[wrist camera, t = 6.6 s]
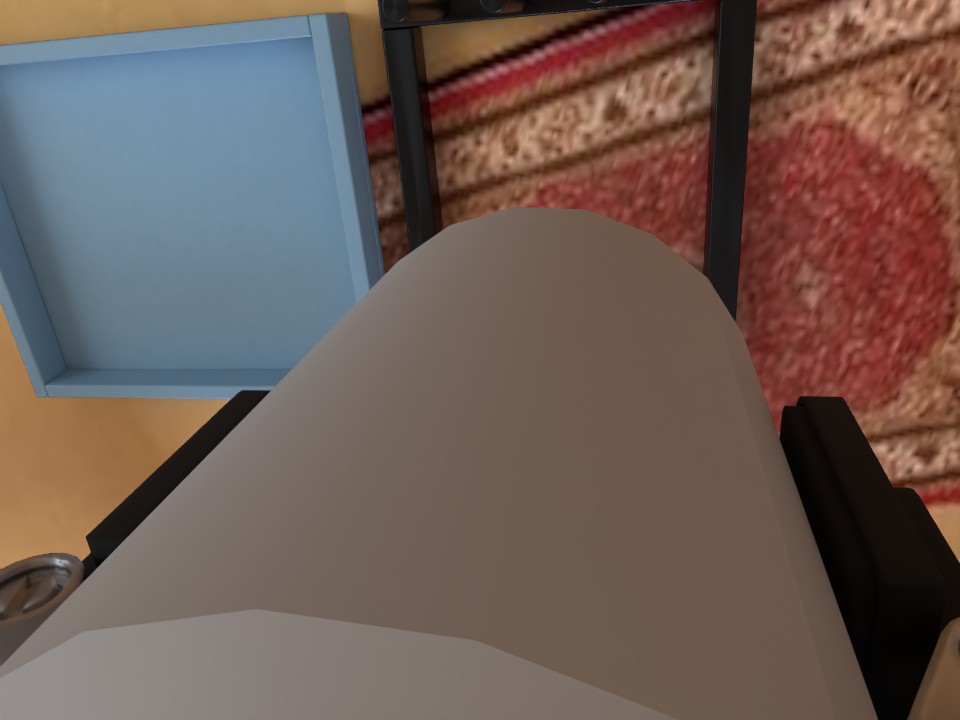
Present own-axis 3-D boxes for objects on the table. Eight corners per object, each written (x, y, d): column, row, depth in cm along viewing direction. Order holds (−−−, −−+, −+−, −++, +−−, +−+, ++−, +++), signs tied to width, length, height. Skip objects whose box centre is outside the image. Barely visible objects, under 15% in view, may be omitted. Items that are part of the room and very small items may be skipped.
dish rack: (753, -44, 21) (798, -60, 16) (726, 388, 27) (751, 482, 22) (387, -6, 23) (317, -9, 18) (436, 386, 29) (394, 472, 24)
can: (294, 364, 15) (-483, 1149, 5) (558, 100, 12) (47, 642, 2) (538, 593, 17) (370, 1613, 6) (833, 408, 14) (1579, 1848, 3)
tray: (347, 12, 24) (326, 12, 22) (400, 378, 29) (387, 400, 28) (-51, 51, 27) (-97, 54, 25) (67, 377, 32) (36, 397, 30)
